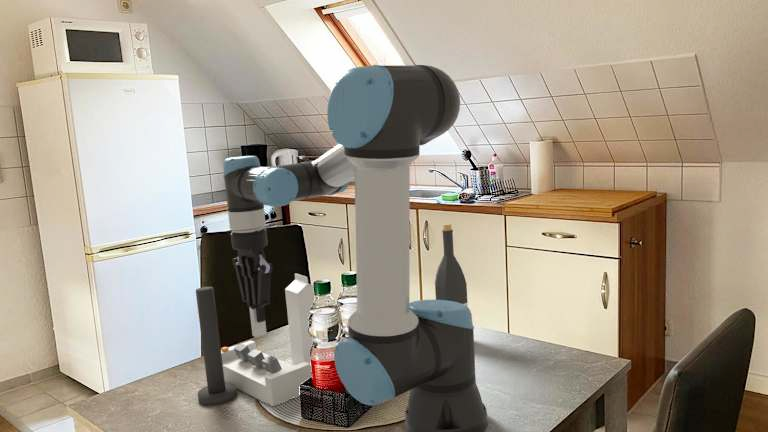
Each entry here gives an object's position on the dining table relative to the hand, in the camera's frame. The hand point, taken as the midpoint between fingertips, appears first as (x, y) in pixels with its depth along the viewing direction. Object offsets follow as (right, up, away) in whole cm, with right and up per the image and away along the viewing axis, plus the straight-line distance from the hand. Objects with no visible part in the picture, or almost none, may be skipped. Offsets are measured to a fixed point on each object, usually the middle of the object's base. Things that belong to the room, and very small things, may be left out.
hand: (259, 334), depth 140 cm
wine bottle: (+45, -6, +19) cm, 49 cm away
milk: (+10, -9, +11) cm, 18 cm away
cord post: (-8, -13, -3) cm, 16 cm away
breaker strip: (0, -11, +3) cm, 12 cm away
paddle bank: (0, -7, +2) cm, 7 cm away
